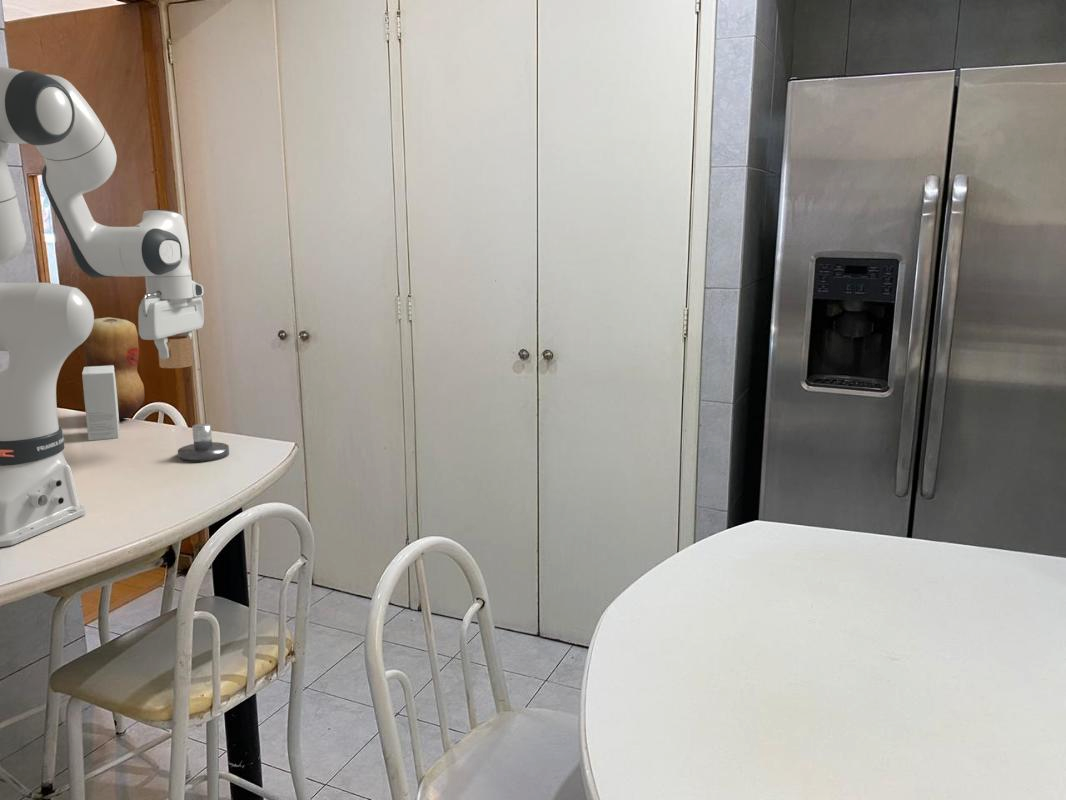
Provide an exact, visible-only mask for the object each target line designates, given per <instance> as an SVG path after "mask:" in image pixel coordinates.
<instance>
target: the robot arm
mask: <svg viewBox="0 0 1066 800" xmlns="http://www.w3.org/2000/svg"><path fill="white" fill-rule="evenodd" d="M82 95H83V94H81V93H80V92H79V90H77V88H76V87H75V86H74V85H73V84H72V83H71V82H70V81H69V80H68V79H66V78H64V77H62V76H60V75H55V74H50V73H49V74H47V73H46V74H43V73H40V72H38V71H33V70H20V69H16V68H12V67H11V68H10V67H7V66H5V67H4V66H2V65H0V266H2V265H4V264H6V263H8V262H9V261H12V260H14V259H15V258H16V257H18V256H19V255H20V254H21V253H22V252H23V250H24V248H25V246H26V243H27V233H26V228H25V225H24V221H23V216H22V212H21V207H20V204H19V200H18V196H17V192H16V188H15V183H14V180H13V178H12V177H13V176H12V173H11V171H10V168H9V165H8V164H7V153H8V147H9V144H19V145H20V144H21V145H22V144H24V145H25V144H27V145H28V144H30V145H32V146H35V148H36V149H37V151H38V152H39V155H41V157H42V158H43V161H44V163H45V164H44V166H43V168H42V171H41V180H42V185H43V188H44V191H45V194H46V196H47V198H48V201H49V203H50V205H51V207H52V209H53V211H54V214H55V215H56V218H57V219H58V222H59V224H60V225H61V228H62V229H63V232H64V233H65V236H66V238H67V240H68V242H69V245H70V248H71V249H70V250H71V253H72V254H71V255H72V257H73V260H74V262H75V264H76V265H77V267H78V268H79V269H80V270H81V271H82V272H83V273H84V274H86V275H87V276H88V277H90V278H94V279H99V278H100V279H103V278H112V277H113V278H114V277H130V278H131V277H132V278H133V277H144V279H145V289H146V293H145V294H144V295H143V298H142V299H141V302H140V304H139V307H138V318H137V319H138V336H139V337H140V338H141V339H142V340H147V341H154V344H155V347H156V349H157V350H159V353H158V358H159V357H160V359H168V358H171V350H169V349H168V346H167V344H166V342H168V339H167V337H169V336H178V335H179V336H190V338H191V339H192V338H193V333H192V332H193V331H197V330H200V329H202V328H203V327H204V323H205V310H204V300H203V298H202V296H204V293H205V291H204V286H203V285H202V284H200V283H197V282H196V281H195V280H192V279H193V278H192V272H191V269H190V264H189V258H190V255H191V254H190V243H189V236H188V231H187V226H186V223H185V220H184V219H185V218H184V217H183V215H182V214H180V213H178V212H176V211H175V210H170V209H169V210H168V209H162V208H161V209H159V208H156V209H154V208H153V209H147V210H145V211H143V213H142V220H141V222H139V223H137V224H135V226H110V225H109V226H108V225H105V224H104V225H103V224H101V223H98V222H97V221H95V220H94V218H93V216H92V214H91V213H92V212H90V211H91V210H90V209H89V207H88V204H87V203H86V200H85V198H84V194H86V193H90V192H93V191H95V190H96V189H98V188H100V187H101V186H102V185H104V184H105V183H106V182H107V181H108V180H109V179H110V177H111V176H112V175H113V174H114V172H115V169H116V165H117V162H118V161H117V160H118V159H117V158H118V157H117V152H116V148H115V145H114V143H113V140H112V139H111V136H109V134H108V132H107V131H106V128H105V127H104V126H103V123H102V122H101V120H100V119H99V117H98V116H97V114H96V113H95V111H94V109H93V108H92V107H91V106H90V105H89V103H88V101H87V100H86V99H85V98H84V96H82ZM94 314H95V313H94V308H93V306H92V304H91V302H90V300H89V298H88V297H87V296H86V294H84V292H82V291H81V290H80V288H78V287H75V286H74V287H73V286H69V285H63V284H57V283H53V282H52V283H51V282H2V281H0V352H8V355H9V356H8V358H9V359H8V365H7V367H6V368H5V369H4V370H2V371H0V548H1V547H3V548H4V547H9V546H13V545H16V544H18V543H20V542H23V541H26V540H28V539H29V538H32V537H34V536H38V535H40V534H42V533H44V532H47V531H50V530H52V529H54V528H56V527H59V526H61V525H64V524H65V523H68V522H70V521H73V520H75V519H78V518H80V517H82V516H85V515H86V510H85V507H84V506H83V505H82V504H80V502H79V498H78V494H77V488H76V484H75V480H74V476H73V472H72V469H71V466H70V465H69V463H68V462H67V459H66V458H65V455H64V452H63V451H64V449H65V448H66V447H65V436H64V434H63V429H62V428H61V427H60V425H59V419H58V418H59V416H58V409H57V408H58V406H57V383H58V378H59V374H60V371H61V369H62V366H63V365H64V363H65V361H66V360H67V359H68V357H69V356H70V355H71V354H72V353H73V352H74V351H75V350H76V349H77V348H78V347H80V346H81V345H82V344H84V341H85V340H86V339H87V338H88V336H89V335H90V333H91V331H92V328H93V324H94V319H95V315H94Z"/></svg>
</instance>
